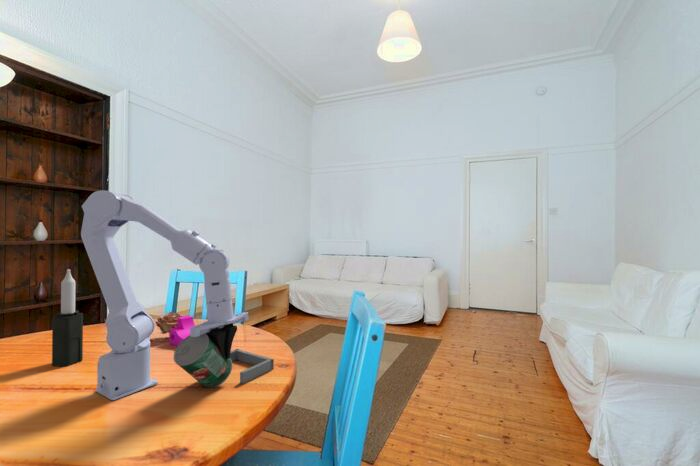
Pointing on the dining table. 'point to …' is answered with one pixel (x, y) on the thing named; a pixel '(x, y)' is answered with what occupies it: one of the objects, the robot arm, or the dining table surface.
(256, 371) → the box
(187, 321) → the toy block
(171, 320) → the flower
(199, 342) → the canned tomato
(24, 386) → the dining table surface
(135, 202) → the robot arm
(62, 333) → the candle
